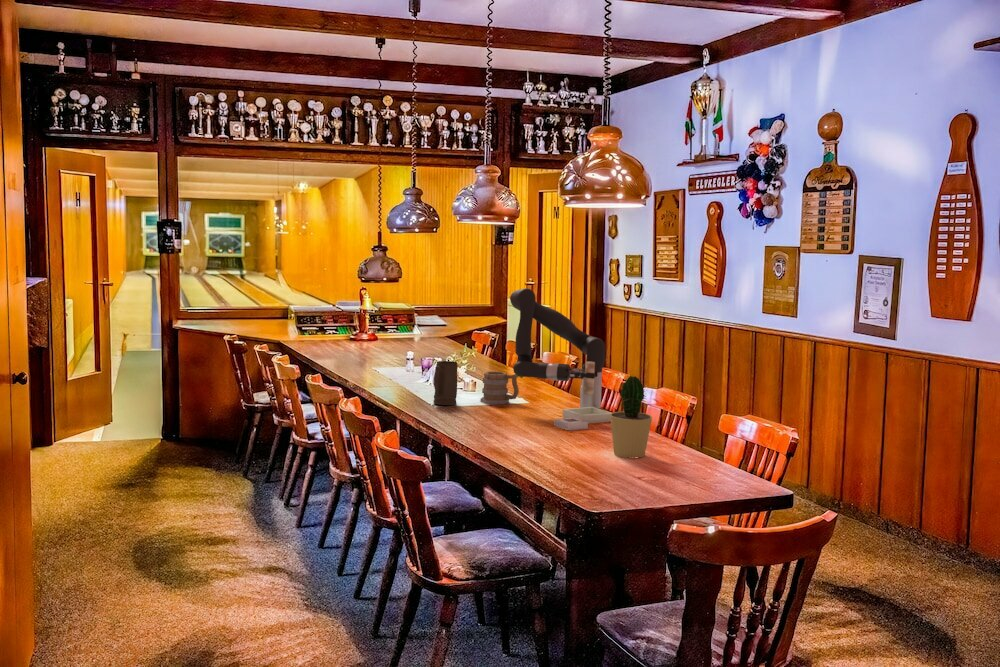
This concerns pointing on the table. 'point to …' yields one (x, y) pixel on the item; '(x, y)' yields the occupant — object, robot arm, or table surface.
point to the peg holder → (571, 423)
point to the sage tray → (588, 414)
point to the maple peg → (589, 381)
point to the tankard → (498, 387)
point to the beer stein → (445, 383)
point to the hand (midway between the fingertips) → (595, 375)
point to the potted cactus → (631, 421)
